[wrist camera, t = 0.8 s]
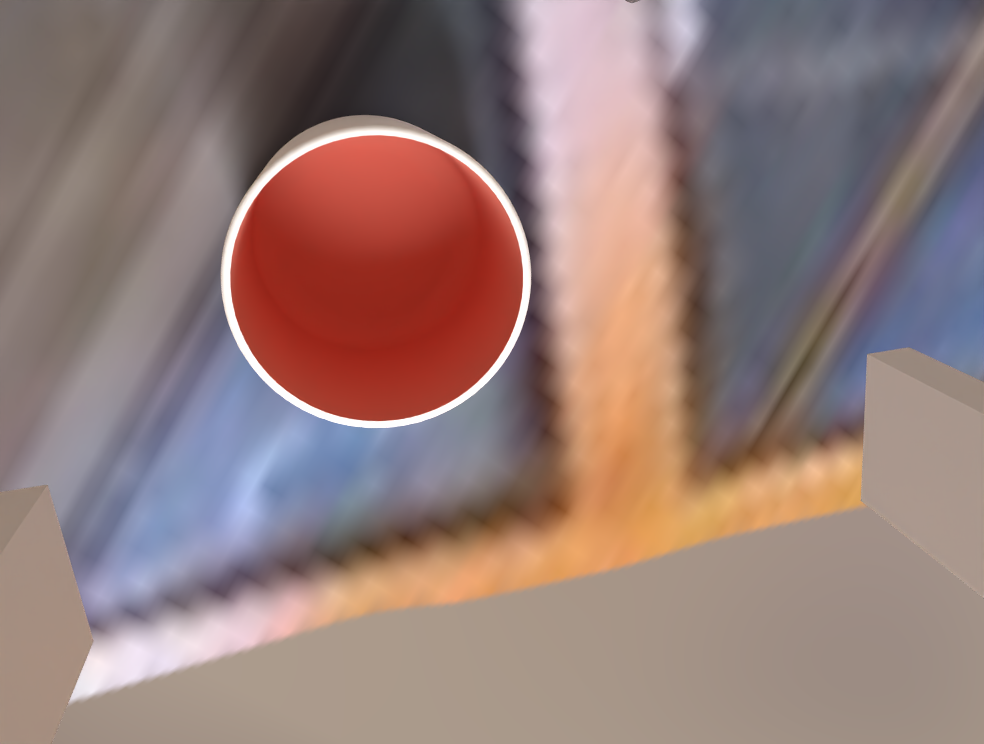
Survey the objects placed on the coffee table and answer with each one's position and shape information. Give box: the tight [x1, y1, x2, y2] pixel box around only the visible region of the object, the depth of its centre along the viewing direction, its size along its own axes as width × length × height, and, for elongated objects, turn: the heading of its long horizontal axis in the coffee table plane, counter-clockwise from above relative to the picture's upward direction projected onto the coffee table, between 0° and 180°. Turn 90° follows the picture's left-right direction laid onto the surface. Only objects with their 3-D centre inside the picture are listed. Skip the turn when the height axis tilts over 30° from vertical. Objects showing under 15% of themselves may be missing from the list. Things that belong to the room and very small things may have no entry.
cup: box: [221, 115, 531, 428], centre depth 34 cm, size 10×10×10 cm
